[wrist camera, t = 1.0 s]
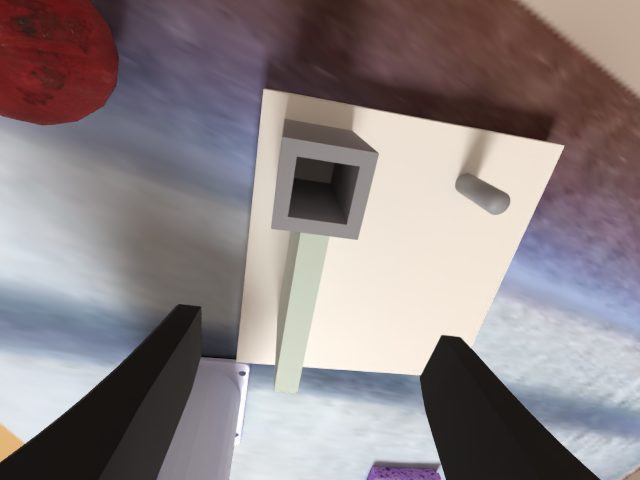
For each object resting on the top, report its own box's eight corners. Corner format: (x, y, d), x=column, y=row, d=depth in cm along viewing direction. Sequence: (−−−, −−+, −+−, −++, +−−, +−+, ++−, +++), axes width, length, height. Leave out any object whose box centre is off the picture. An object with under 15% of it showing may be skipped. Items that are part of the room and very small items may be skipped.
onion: (118, -27, 16) (-25, -114, 9) (160, 106, 18) (77, 125, 11) (-9, -8, 16) (-261, -80, 8) (52, 123, 18) (-104, 153, 11)
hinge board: (449, 363, 28) (479, 417, 24) (238, 347, 26) (228, 404, 21) (546, 141, 21) (617, 159, 16) (265, 88, 18) (257, 91, 14)
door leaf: (312, 320, 23) (319, 394, 18) (259, 316, 23) (250, 390, 17) (352, 130, 18) (379, 153, 13) (284, 118, 18) (282, 137, 12)
